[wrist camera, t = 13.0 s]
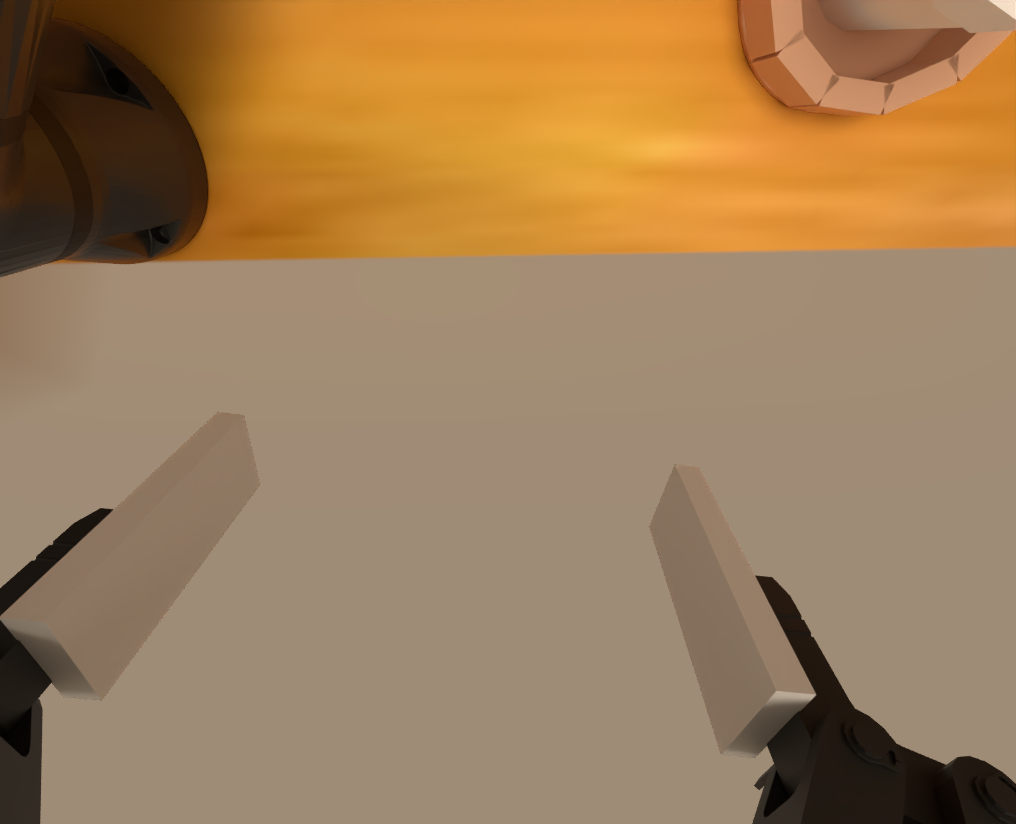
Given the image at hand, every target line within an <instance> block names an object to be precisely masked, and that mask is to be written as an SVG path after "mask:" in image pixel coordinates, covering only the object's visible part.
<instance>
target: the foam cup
mask: <svg viewBox="0 0 1016 824" xmlns="http://www.w3.org/2000/svg"><path fill="white" fill-rule="evenodd" d="M819 3H820V5H821V8H822V10H823V13H824V15H825V18H826V19H827V20H829V21H830V22H832V23H833V24H835V25H836V26H838V27H839V28H841V29H843V30H849V31H852V30H890V29H928V28H963V29H965V30H966V31H968V32H969V33H980V32H996V31H1012V30H1016V0H819Z"/></svg>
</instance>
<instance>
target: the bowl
mask: <svg viewBox="0 0 1016 824" xmlns="http://www.w3.org/2000/svg"><path fill="white" fill-rule="evenodd" d="M738 22H739V31H740V36H741V42H742V46H743V49H744V52H745V55H746V58H747V61H748V63H749V65H750V67H751V69H752V71H753V73H754V75H755V77H756V78H757V79H758V81H759V82H760V84H761V85H762V86H763V87H764V88H765V89H766V90H767V91H768V92H769V93H770V94H771V95H772V96H773V97H774V98H776V99H777V100H779V101H780V102H782V103H783V104H785V105H787V106H790V108H794V109H797V110H801V111H806V112H811V113H828V114H834V115H841V116H865V115H882V114H886V113H889V112H891V111H893V110H896V109H898V108H900V107H903V106H905V105H907V104H910V103H912V102H915V101H917V100H919V99H922V98H924V97H926V96H929V95H931V94H933V93H936V92H938V91H941V90H943V89H945V88H948V87H950V86H952V85H955V84H957V81H961V80H962V79H963V78H964V77H965V76H966V75H968V74H969V73H970V72H971V71H972V70H973V69H974V68H975V67H976V66H977V65H978V64H979V63H980V62H981V61H982V60H983V59H984V58H985V57H987V56H988V55H989V54H990V53H991V52H992V51H993V50H994V49H995V48H996V47H997V46H998V45H999V44H1000V43H1001V42H1002V41H1003V40H1004V39H1005V38H1007V37H1008V36H1009V35H1010V34H1011V33H1012V32H1013V31H1014V30H1012V31H996V32H980V33H969V32H968V31H966V30H965V29H963V28H928V29H890V30H852V31H849V30H843V29H841V28H839V27H838V26H836V25H835V24H833V23H832V22H830V21H829V20H827V19H826V18H825V15H824V13H823V10H822V8H821V5H820V3H819V0H738Z"/></svg>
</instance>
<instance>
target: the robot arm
mask: <svg viewBox="0 0 1016 824" xmlns="http://www.w3.org/2000/svg"><path fill="white" fill-rule="evenodd" d="M54 4H55V0H0V277H3V276H7V275H10V274H14V273H17V272H20V271H24V270H27V269H31V268H34V267H37V266H41V265H43V264H47V263H50V262H54V261H57V260H71V261H85V262H99V263H113V264H135V263H142V262H147V261H151V260H154V259H157V258H159V257H162V256H165V255H168V254H171V253H173V252H175V251H177V250H179V249H180V248H182V247H183V246H185V245H186V244H187V243H188V242H189V241H190V240H191V239H192V238H193V237H194V235H195V234H196V233H197V231H198V229H199V227H200V225H201V223H202V221H203V218H204V214H205V210H206V205H207V178H206V171H205V166H204V162H203V158H202V155H201V152H200V148H199V146H198V143H197V140H196V138H195V136H194V134H193V131H192V129H191V127H190V125H189V123H188V121H187V120H186V118H185V116H184V114H183V113H182V111H181V109H180V108H179V106H178V105H177V103H176V102H175V100H174V99H173V98H172V96H171V95H170V94H169V92H168V91H167V90H166V88H165V87H164V86H163V85H162V84H161V82H160V81H159V80H158V79H157V78H156V77H155V76H154V75H153V74H152V73H151V72H150V71H149V69H147V68H146V67H145V66H144V65H143V64H142V63H141V62H140V61H139V60H138V59H137V58H135V57H134V56H133V55H132V54H131V53H129V52H128V51H127V50H125V49H124V48H123V47H121V46H120V45H118V44H117V43H115V42H114V41H112V40H110V39H109V38H107V37H105V36H104V35H102V34H100V33H98V32H96V31H94V30H92V29H89V28H87V27H85V26H82V25H79V24H76V23H73V22H69V21H65V20H61V19H56V18H52V13H53V9H54ZM259 486H260V482H259V477H258V473H257V469H256V464H255V460H254V456H253V452H252V447H251V443H250V439H249V434H248V430H247V426H246V421H245V417H244V415H239V414H230V413H220V412H217V414H215V415H214V416H213V417H212V418H211V419H210V420H209V421H208V422H207V423H206V424H205V425H204V426H203V427H201V428H200V429H199V430H198V431H197V432H196V433H195V434H194V435H193V436H192V437H191V438H190V439H189V440H188V441H187V442H186V443H184V444H183V445H182V446H181V447H180V448H179V449H178V450H177V451H176V452H175V453H174V454H173V455H172V456H171V457H169V458H168V459H167V460H166V461H165V462H164V463H163V464H162V465H161V466H160V467H159V468H158V469H157V470H156V471H155V472H153V474H151V475H150V476H149V477H148V478H147V479H146V480H145V481H144V482H143V483H142V484H141V485H140V486H139V487H138V488H136V489H135V490H134V491H133V492H132V493H131V494H130V495H129V496H128V497H127V498H126V499H125V500H124V501H123V502H122V503H120V504H119V505H118V506H117V507H116V508H115V509H114V510H113V509H104V508H100V509H98V510H97V511H95V512H93V513H91V514H89V515H88V516H86V517H84V518H82V519H80V520H79V521H77V522H75V523H74V524H73V525H71V526H70V527H69V528H68V529H67V530H66V531H65V532H63V533H62V534H61V535H60V536H59V537H58V538H57V539H55V540H54V541H53V542H54V543H53V545H49V546H48V547H47V548H45V549H44V550H43V551H42V552H41V553H40V554H39V555H38V556H37V557H36V560H35V561H31V562H29V563H28V564H27V565H26V566H25V567H24V568H23V569H22V570H20V572H18V573H17V574H16V575H15V576H14V577H13V578H11V579H10V580H9V581H8V582H7V583H6V584H5V585H3V586H2V587H1V588H0V824H40V806H41V805H40V804H41V758H42V706H41V703H40V700H39V699H38V698H39V697H40V695H41V694H42V693H43V692H44V691H45V689H46V688H47V687H48V686H49V685H50V684H51V683H52V684H53V685H54V686H55V687H56V689H57V690H58V691H59V692H60V694H61V695H62V696H63V697H68V698H79V699H91V700H102V699H103V698H104V697H105V696H106V694H107V693H108V691H109V690H110V689H111V687H112V686H113V685H114V683H115V682H116V680H117V679H118V678H119V676H120V675H121V674H122V672H123V671H124V670H125V668H126V667H127V665H128V664H129V663H130V661H131V660H132V659H133V657H134V656H135V655H136V653H137V652H138V651H139V649H140V648H141V646H142V645H143V644H144V642H145V641H146V640H147V638H148V637H149V636H150V634H151V633H152V631H153V630H154V629H155V627H156V626H157V625H158V623H159V622H160V621H161V619H162V618H163V616H164V615H165V614H166V612H167V611H168V610H169V608H170V607H171V606H172V604H173V602H174V601H175V600H176V599H177V597H178V596H179V595H180V593H181V592H182V590H183V589H184V588H185V586H186V585H187V584H188V582H189V581H190V580H191V578H192V577H193V575H194V574H195V573H196V571H197V570H198V569H199V567H200V566H201V564H202V563H203V562H204V560H205V559H206V557H207V556H208V555H209V554H210V552H211V551H212V550H213V548H214V547H215V546H216V544H217V543H218V541H219V540H220V538H221V537H222V536H223V535H224V533H225V532H226V531H227V529H228V528H229V526H230V525H231V524H232V522H233V521H234V519H235V518H236V517H237V515H238V514H239V513H240V511H241V510H242V508H243V507H244V506H245V505H246V503H247V502H248V501H249V499H250V498H251V496H252V495H253V494H254V492H255V491H256V490H257V488H258V487H259ZM649 527H650V531H651V534H652V537H653V540H654V543H655V547H656V550H657V553H658V556H659V559H660V562H661V565H662V568H663V572H664V575H665V578H666V582H667V585H668V588H669V591H670V594H671V597H672V601H673V604H674V607H675V610H676V613H677V616H678V620H679V623H680V626H681V629H682V632H683V636H684V638H685V642H686V645H687V648H688V651H689V654H690V657H691V661H692V664H693V667H694V670H695V674H696V677H697V680H698V683H699V686H700V690H701V692H702V696H703V699H704V702H705V705H706V708H707V712H708V715H709V718H710V721H711V725H712V728H713V731H714V734H715V737H716V740H717V744H718V747H719V750H720V753H721V755H728V756H739V757H751V758H756V756H758V754H759V753H760V752H761V751H762V750H763V749H764V748H765V747H766V746H768V749H769V751H770V754H771V757H772V759H773V762H774V764H773V765H772V766H771V767H770V768H769V769H768V770H767V771H766V772H765V773H764V774H763V775H762V776H761V777H760V778H759V779H758V781H757V782H756V784H755V785H754V786H755V787H756V788H757V789H759V790H760V789H761V788H762V787H763V786H764V789H763V792H762V795H761V798H760V801H759V804H758V807H757V811H756V814H755V817H754V820H753V823H752V824H1016V784H1015V783H1014V782H1013V781H1012V780H1011V779H1010V778H1009V777H1007V776H1006V775H1005V774H1004V773H1003V772H1001V771H1000V770H998V769H996V768H995V767H993V766H992V765H990V764H988V763H987V762H985V761H982V760H979V759H977V758H973V757H971V756H964V757H957V758H956V759H954V760H953V761H951V762H950V763H949V764H947V765H945V764H943V763H940V762H938V761H936V760H933V759H930V758H928V757H926V756H924V755H921V754H918V753H916V752H914V751H911V750H909V749H907V748H905V747H902V746H900V745H898V744H896V742H895V741H894V740H893V739H892V738H891V736H890V735H889V734H888V733H887V731H886V730H885V729H884V728H883V727H882V726H880V725H879V724H878V723H877V722H876V721H874V720H873V719H872V718H871V717H870V716H868V715H866V714H864V713H862V712H860V711H859V710H857V709H855V708H854V706H853V705H852V703H851V702H850V700H849V699H848V697H847V695H846V693H845V692H844V690H843V688H842V686H841V685H840V683H839V681H838V679H837V678H836V676H835V674H834V672H833V671H832V669H831V667H830V665H829V664H828V662H827V660H826V658H825V656H824V655H823V653H822V651H821V649H820V648H819V646H818V644H817V642H816V641H815V639H814V637H811V632H810V630H809V628H808V627H807V625H806V623H805V621H804V620H802V619H801V614H800V613H799V611H798V609H797V607H796V605H795V604H794V602H793V600H792V598H791V597H790V595H789V594H788V593H787V592H786V591H785V590H784V589H783V588H782V587H781V586H780V585H779V584H778V583H777V582H776V581H775V580H774V579H773V578H772V577H764V576H755V575H754V573H753V571H752V569H751V567H750V565H749V563H748V561H747V559H746V557H745V555H744V554H743V552H742V550H741V548H740V546H739V544H738V542H737V540H736V538H735V536H734V534H733V532H732V531H731V529H730V526H729V524H728V522H727V521H726V519H725V517H724V515H723V513H722V511H721V509H720V507H719V505H718V503H717V501H716V500H715V497H714V495H713V493H712V492H711V489H710V488H709V486H708V484H707V482H706V480H705V478H704V476H703V474H702V472H701V470H700V468H699V467H694V466H686V465H676V464H675V465H674V467H673V470H672V473H671V475H670V477H669V480H668V482H667V485H666V487H665V489H664V492H663V494H662V497H661V499H660V502H659V504H658V507H657V509H656V511H655V514H654V516H653V519H652V521H651V524H650V526H649Z"/></svg>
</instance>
